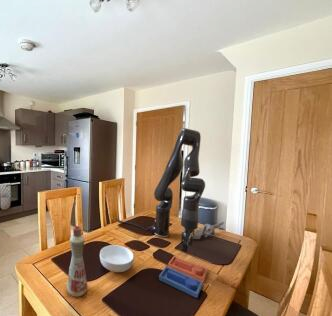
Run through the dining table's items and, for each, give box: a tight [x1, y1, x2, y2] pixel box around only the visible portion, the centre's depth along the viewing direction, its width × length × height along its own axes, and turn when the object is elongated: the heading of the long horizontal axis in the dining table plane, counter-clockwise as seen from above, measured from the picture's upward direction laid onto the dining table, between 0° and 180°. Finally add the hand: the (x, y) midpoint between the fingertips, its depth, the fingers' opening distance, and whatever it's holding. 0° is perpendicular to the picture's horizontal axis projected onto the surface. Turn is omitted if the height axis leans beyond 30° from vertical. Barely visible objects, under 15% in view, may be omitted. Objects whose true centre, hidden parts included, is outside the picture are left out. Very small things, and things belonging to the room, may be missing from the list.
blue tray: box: [158, 266, 203, 299], centre depth 89 cm, size 16×9×2 cm, turn 50°
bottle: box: [66, 225, 88, 298], centre depth 82 cm, size 9×9×28 cm
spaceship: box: [192, 221, 225, 240], centre depth 136 cm, size 8×35×8 cm
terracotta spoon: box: [175, 258, 203, 276], centre depth 97 cm, size 12×5×3 cm, turn 50°
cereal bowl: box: [99, 244, 135, 273], centre depth 99 cm, size 17×17×7 cm
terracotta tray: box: [167, 255, 209, 283], centre depth 98 cm, size 16×9×2 cm, turn 50°
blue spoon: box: [167, 270, 197, 291], centre depth 88 cm, size 12×5×3 cm, turn 50°
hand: (187, 248), depth 99 cm, fingers open, 8 cm apart
